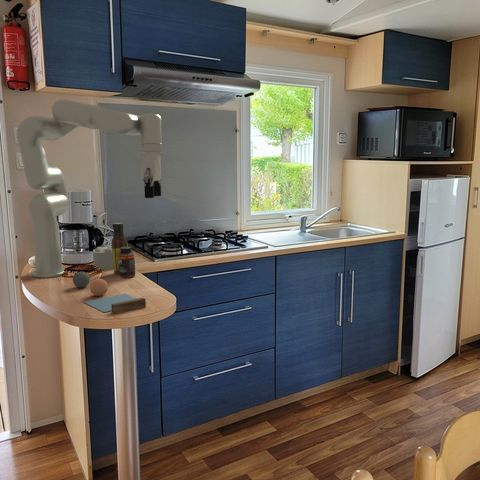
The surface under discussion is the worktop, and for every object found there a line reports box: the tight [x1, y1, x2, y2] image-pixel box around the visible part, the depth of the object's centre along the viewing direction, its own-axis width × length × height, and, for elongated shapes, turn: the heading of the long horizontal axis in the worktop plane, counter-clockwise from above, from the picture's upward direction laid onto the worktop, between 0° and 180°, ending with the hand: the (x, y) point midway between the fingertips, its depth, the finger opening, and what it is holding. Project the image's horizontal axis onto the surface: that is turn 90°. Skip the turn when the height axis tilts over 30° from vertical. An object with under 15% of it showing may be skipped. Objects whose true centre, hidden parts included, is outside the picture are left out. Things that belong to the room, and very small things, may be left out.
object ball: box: [89, 278, 109, 297], centre depth 154 cm, size 6×6×6 cm
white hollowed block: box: [92, 244, 114, 271], centre depth 198 cm, size 10×13×9 cm
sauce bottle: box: [110, 222, 129, 276], centre depth 185 cm, size 6×6×20 cm
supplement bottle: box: [118, 246, 136, 279], centre depth 180 cm, size 6×6×11 cm
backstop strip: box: [111, 297, 147, 314], centre depth 139 cm, size 2×10×2 cm, turn 131°
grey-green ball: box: [72, 271, 91, 289], centre depth 165 cm, size 6×6×6 cm
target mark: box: [83, 293, 148, 313], centre depth 146 cm, size 14×14×1 cm
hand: (153, 197), depth 174 cm, fingers open, 9 cm apart
